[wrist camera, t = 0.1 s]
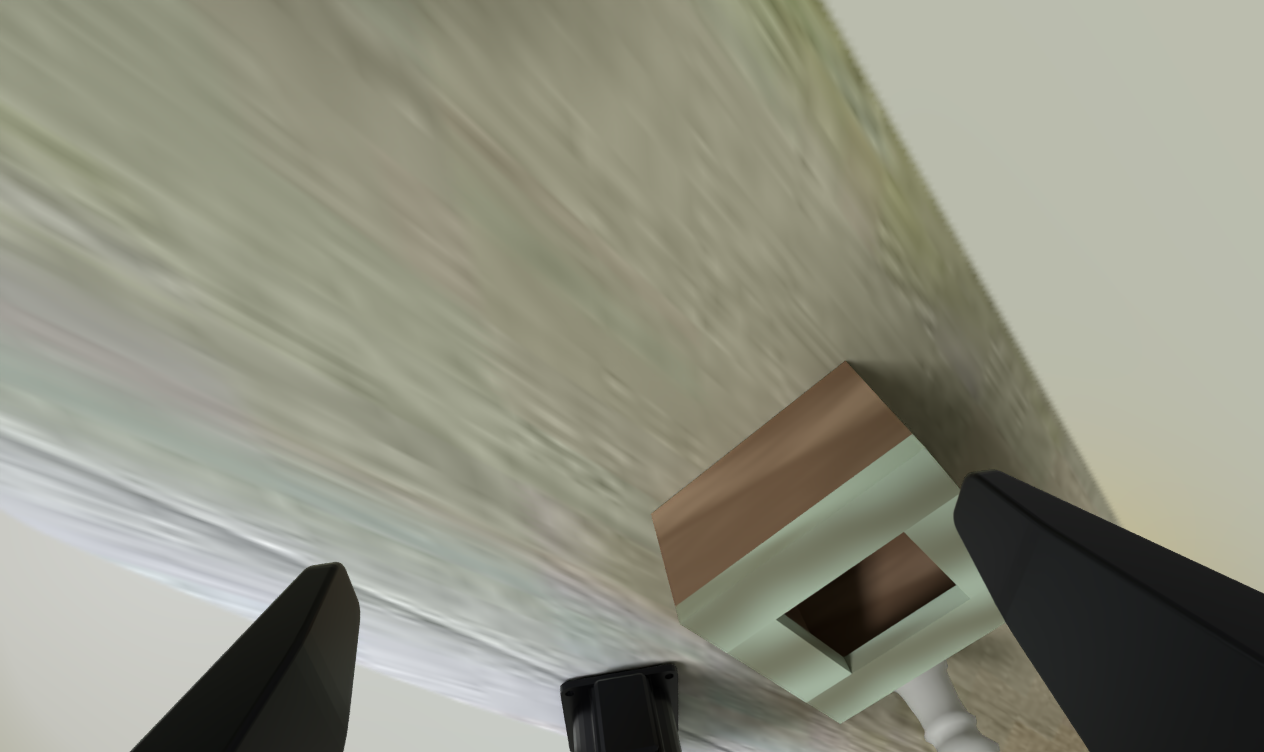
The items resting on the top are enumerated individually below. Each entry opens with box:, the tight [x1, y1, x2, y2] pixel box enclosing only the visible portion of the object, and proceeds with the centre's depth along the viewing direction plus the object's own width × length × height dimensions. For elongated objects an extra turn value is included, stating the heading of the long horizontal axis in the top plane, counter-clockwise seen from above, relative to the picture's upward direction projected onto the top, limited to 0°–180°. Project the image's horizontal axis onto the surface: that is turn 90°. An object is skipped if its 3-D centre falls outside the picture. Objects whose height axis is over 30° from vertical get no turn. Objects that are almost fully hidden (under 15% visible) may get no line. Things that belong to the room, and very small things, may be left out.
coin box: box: [651, 361, 1006, 724], centre depth 28 cm, size 12×11×6 cm
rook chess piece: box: [895, 660, 1000, 752], centre depth 34 cm, size 4×4×8 cm
